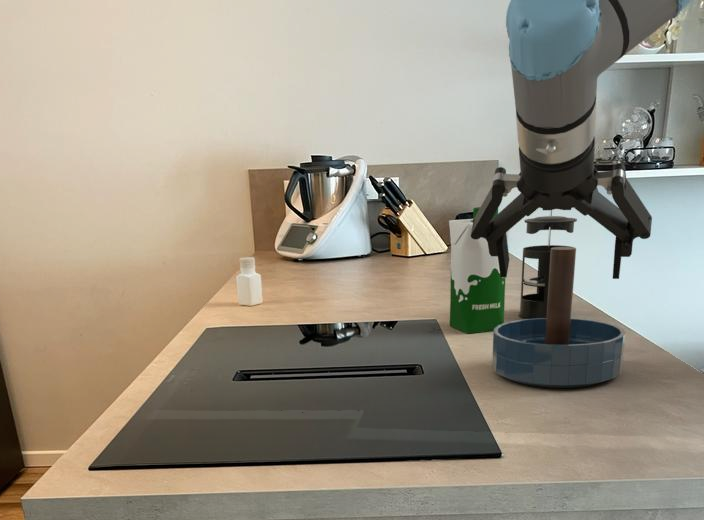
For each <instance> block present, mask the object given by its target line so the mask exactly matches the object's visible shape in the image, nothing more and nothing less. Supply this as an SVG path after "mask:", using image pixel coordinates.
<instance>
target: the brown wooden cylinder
mask: <svg viewBox="0 0 704 520" xmlns="http://www.w3.org/2000/svg"><path fill="white" fill-rule="evenodd" d="M576 255H577V248H576V247H574V246H571V247H553V248H551V253H550V269H549V285H548V301H547V316H546V332H545V344H557V345H569V337H570V324H571V318H572V309H573V298H574V297H573V296H574V281H575V269H576V258H577V256H576Z"/></svg>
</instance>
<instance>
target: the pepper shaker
mask: <svg viewBox="0 0 704 520" xmlns="http://www.w3.org/2000/svg"><path fill="white" fill-rule="evenodd" d="M238 262H239V269H240V273H239V274H237V275H236V277H235V281H236V293H237V302H238V305H239V306H247V307H248V306H249V307H254V306H257V305H261V304H262V303H263V301H264V299H263V286H262V275H261V274H260V273H257V272H256V259H255V257H253V256H246V257H239V259H238Z"/></svg>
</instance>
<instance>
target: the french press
mask: <svg viewBox="0 0 704 520" xmlns="http://www.w3.org/2000/svg"><path fill="white" fill-rule="evenodd" d="M523 222H524V223H526V231H525V233H526V234H529V235H534V234H537V233H538V232H540V231H548V235H547V236H548V237H547V244H546V245H545V244H544V245H530V246H526V247H523V248H522V263H521V281H520V282H521V283H520V285H521V286H520V304H519V312H518V317H519V318H521V319H531V318H546V316H547V301H548V285H549V269H550V253H551V248H553V247H572V246H570V245H557V244H555V245H554V244H551V236H552V234H551V233H552V231H565V232H566V233H570V234H573V233H574V230H575V229H574V228H575V223H576V222H578V219H577V218H574V217H566V216H562V215H561V216H560V215H559V216H558V215H553V210H549V215H547V216H546V215H545V216H537V217H533V218H527V219H524V221H523ZM525 259H530V260H531V259H533V260H538V262H537V276H532V277H527V278H525ZM524 285H525V286H528V287H535V288H536V293H529V294H524Z"/></svg>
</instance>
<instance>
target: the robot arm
mask: <svg viewBox="0 0 704 520" xmlns="http://www.w3.org/2000/svg"><path fill="white" fill-rule="evenodd" d="M691 2H693V0H510V1H509V3H508V5H507V9H506V15H505V28H506V33H507V37H508V40H509V42H508V57H509V61H510V67H511V75H512V76H511V77H512V78H511V79H512V86H513V87H512V88H513V94H514V95H513V96H514V104H515V105H514V106H515V120H516V133H517V134H516V135H517V143H518V154H519V155H518V157H519V169H520V172H519V173H518V174H517V173H515V174H514V173H507V169H506V168H505V167H503V166H498V167H496V168H495V169H494V176H493V179H492V180H493V181H492V186H491V188H490V189H489V191H488V192H487V194H486V196H485V198H484V200H483V202H482V203H481V205H480V206H479V207H480V209H479V211H478V212H477V214H476V216H475V218H474V221H473V226H472V231H471V238H472V239H480V237H482V238H485V239H486V241H487V242H488V248H489V254H490V255H491V256H498V262H499V269H500V276H501V277H505V278H507V277H508V271H509V265H510V252H509V244H508V242H507V235H506V232H507V231H508V230H509V231H510V230H511V229H512V228H513V227H514V226H516V225H517V224H518V223H519V222H521V221H522V220H523V219H524V218H525V217H530V216H531V215H533V213H535V212H536V211H537V210H538V209H542V211H550V210H552V211H554V210H562V211H572V209H575V210H577V211H578V212H579V213H580V214H581V215H583V216H585V217H586V216H589V217H590V218H592V219H593V220H594V221H595V222H596V223H598V224H600V225H601V226H602V227H603V228H604V229H606V230H607V231H608V232H610V233H611V234H612V235H614V236H615V241H614V254H613V268H612V280H619V279H620V274H621V264H622V258H630V257H631V255H632V254H633V243H634V240H636V238H640V239H642V240H647V239H650V237H651V233H652V225H653V223H652V222H653V216H652V215H651V213H650V212H649V210H648V209H647V208H646V205H645V204H644V202H643V201H642V200H641V199H640V196H639V195H638V193H637V192H636V191H635V189H634V188H633V185H631V183H630V181H629V180H628V179H627V173H626V165H625V164H624V163H621V162H618V163H615V164H614V165H613V167H612V170H605V171H604V170H603V171H598V169H597V168H596V167H595V147H596V146H595V145H596V137H595V135H596V116H597V91H598V90H597V89H598V78H599V77H600V75H601V74H603V73H604V72H605V71H606V70H607V69H609V68H610V67H612V66H613V65H614V64H615V63H617V62H618V61H620V59H622V58H623V57H624V56H626V55H627V54H628V53H629V52H631V51H632V50H633V49H635V48H636V47H637V46H638V45H640V44H641V43H642V42H644V40H646V39H647V38H649V37H650V36H651V35H653V34H655V32H657V31H658V30H659V29H660V28H662V27H663V26H665V24H667V23H668V22H669V21H671V20H672V19H675V18H677V17H678V16H679V15H680V14H681V12H682V11H683V10H684V9H685V8H686V7H687V6H688V5H689V4H691ZM598 186H600V187H601V186H602V187H603V188H604V190H605V191H606V194H607V195H609V196H610V195H611V196H612V197H611V198H612V200H613V201H614V202H612V201H610V200H609V198H608V197H606V196H604V195H603V194H602V193H601V192H599V188H598ZM515 188H517V190H518V191H519V192H520V193H519V194H518V195H517V196H516V197H515V198H513V200H512V201H511V202H509V203H508V204H507V205H506V206H505V207H504V208H503V209H502V210H500V211H499V212H498V214H497V215H496V216H495V217H494V218H492V217H493V216H494V214H495V212H496V211H497V209H498V210H499V208H500V205H501V204H502V201H503V198H506V197H507V196H508V195H509V194H510V193H511V191H512V190H513V189H515ZM614 203H615V204H614Z"/></svg>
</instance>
